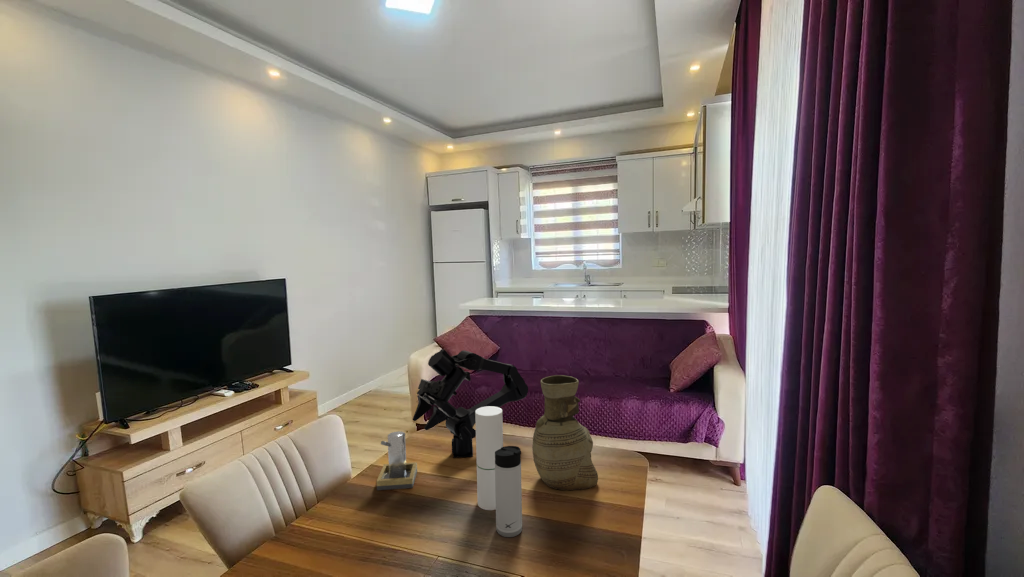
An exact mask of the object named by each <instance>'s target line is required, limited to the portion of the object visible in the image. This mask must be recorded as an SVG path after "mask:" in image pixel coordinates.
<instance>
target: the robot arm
mask: <svg viewBox="0 0 1024 577" xmlns="http://www.w3.org/2000/svg"><path fill="white" fill-rule="evenodd" d="M455 365H456V366H458V367H456V366H455ZM427 366H429V367H430V368H431V369H432V370H433V371H435V372H436V373H437V374H438V375H439V376H441V377H443V376H444V377H443V378H442V379H441V380H440V379H438V380H436V381H435V380H432V381H431V380H426V379H423V378H421V379H420V382H419V383H418V387H417V389H418V391H417V392H416V394H417V396H416V397H417V400H418V404H417V407H416V409H415V412H414V414H413V417H412V421H414V422H416V421H418V420H419V419H420V418H422V417H423V416H424V415H425V414H426V413H427V412H429V411H430V410H431V409H432V408H433V412H432V415H431V416H430V418H429V419H428V420H427V422H426V424H425V426H424V430H425V431H428V430H431V429H432V428H433V427H435V426H437V425H439V424H440V423H442V422H444V421H445V427H446V429H448V430H449V431H450V433H451V434H452V435H453V436H452V437H453V438H451V454H453V455H452V456H453V458H454V459H455V458H456V459H457V458H471V457H473V456H474V447H473V439H476V428H474V427H475V425H476V421H475V411H476V410H477V409H478V408H481V407H486V406H495V407H499V408H501V407H502V406H504V405H505V404H508V403H510V402H511V403H512V402H518V401H520V400H523V399H525V398H526V397H527V396H528V394H529V386H528V384H527V383H526V381H525V379H524V378H523V377H522V375H521V374H520V373H519V371H518V369H517V367H516V365H513V364H510V363H503V362H500V361H496V360H492V359H487V358H484V357H483V356H481V355H479V354H477V353H474V352H473V351H472V352H471V351H468V350H461V351H459V352H458V354H455V355H452V356H451V355H450V354H449V353H448V352H447V351H446V350H445V349H443V348H442V349H440V350H439V351H437V352H435V353H434V354H433V355H431V357H429V360H428V363H427ZM464 369H465V370H466V371H465V370H464ZM467 370H468V371H467ZM482 370H483V371H484V370H485V371H489V372H493V373H497V374H502V376H503V378H502V379H503V383H504V385H503V386H502V388H501V389H500V390H499V391H498V392H496V393H495V394H492V395H491V396H489V397H488V398H486V399H484V400H482V401H481V402H479V403H477V404H475V405H473V406H471V407H470V408H469V409H466V408H464V407H463V406H459V407H458V408H456V407H455V406H454V405H453V404H451V403H450V402H449V401H450V399H451V398H452V397H453V396H457V394H458V392H457V390H458V389H459V387H460V386H461V384H462V383H463V381H464V380H466V381H469V382H470V381H471V372H469V371H482Z"/></svg>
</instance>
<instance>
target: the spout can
mask: <svg viewBox="0 0 1024 577" xmlns="http://www.w3.org/2000/svg"><path fill="white" fill-rule="evenodd" d="M380 445H382V446H386V447H387V450H388V451H387V452H388V454H387V456H388V464H389V478H405V477H406V476H407V470H406V463H407V446H406V445H407V444H406V432H404V431H391V432H390V433H388V434H387V441H385V440H382V441H380Z"/></svg>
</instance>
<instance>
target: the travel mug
mask: <svg viewBox="0 0 1024 577" xmlns="http://www.w3.org/2000/svg"><path fill="white" fill-rule="evenodd" d="M521 458H522V450H521V447H519V446H515V445H505V446H503V447H502V448H501V449H499V450H497V451H495V494H496V509H495V524H496V525H495V530H496V532H497V534H498V535H500V536H502V537H505V538H513V537H516V536H518V535H519V534H521V532H522V531H523V502H522V501H523V498H522V495H523V494H522V491H523V490H522V459H521Z"/></svg>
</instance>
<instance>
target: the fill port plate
mask: <svg viewBox="0 0 1024 577" xmlns="http://www.w3.org/2000/svg"><path fill="white" fill-rule="evenodd" d="M406 470H407V476H406V477H405V478H389V463H384V464H383V465H382V468H381V470H380V473H379V474H378V477H377V479H376V491H386V490H400V489H401V490H402V489H413V488H414V484H415V481H416V477H417V474H418V462H417V461H415V462H412V461H411V462H406Z"/></svg>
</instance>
